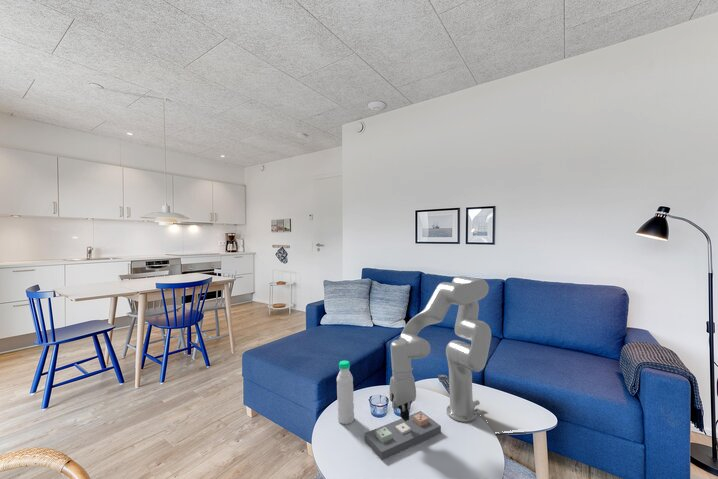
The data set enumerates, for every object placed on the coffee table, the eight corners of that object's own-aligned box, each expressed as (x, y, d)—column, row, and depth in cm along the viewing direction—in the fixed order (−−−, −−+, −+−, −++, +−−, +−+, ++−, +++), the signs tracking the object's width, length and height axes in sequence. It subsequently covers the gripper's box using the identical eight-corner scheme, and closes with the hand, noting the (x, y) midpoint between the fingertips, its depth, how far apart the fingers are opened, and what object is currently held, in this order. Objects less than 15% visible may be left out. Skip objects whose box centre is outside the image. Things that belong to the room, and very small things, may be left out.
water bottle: (339, 426, 125) (337, 366, 125) (336, 416, 132) (334, 359, 132) (355, 423, 127) (354, 364, 127) (352, 413, 134) (350, 358, 134)
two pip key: (385, 436, 116) (385, 426, 116) (392, 442, 112) (391, 433, 112) (376, 440, 114) (375, 430, 114) (382, 447, 110) (382, 437, 110)
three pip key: (421, 421, 125) (421, 412, 125) (428, 426, 121) (428, 417, 121) (413, 424, 122) (413, 415, 122) (420, 430, 119) (420, 421, 119)
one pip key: (404, 431, 120) (404, 422, 120) (411, 437, 116) (411, 428, 116) (395, 435, 118) (395, 426, 118) (402, 441, 114) (401, 432, 114)
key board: (420, 417, 129) (420, 411, 129) (441, 433, 119) (440, 425, 119) (364, 441, 116) (364, 433, 116) (381, 460, 105) (381, 452, 105)
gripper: (410, 364, 124) (413, 407, 125) (380, 374, 117) (383, 421, 117) (423, 370, 118) (426, 416, 118) (391, 382, 110) (395, 431, 111)
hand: (405, 418), depth 118 cm, fingers closed
